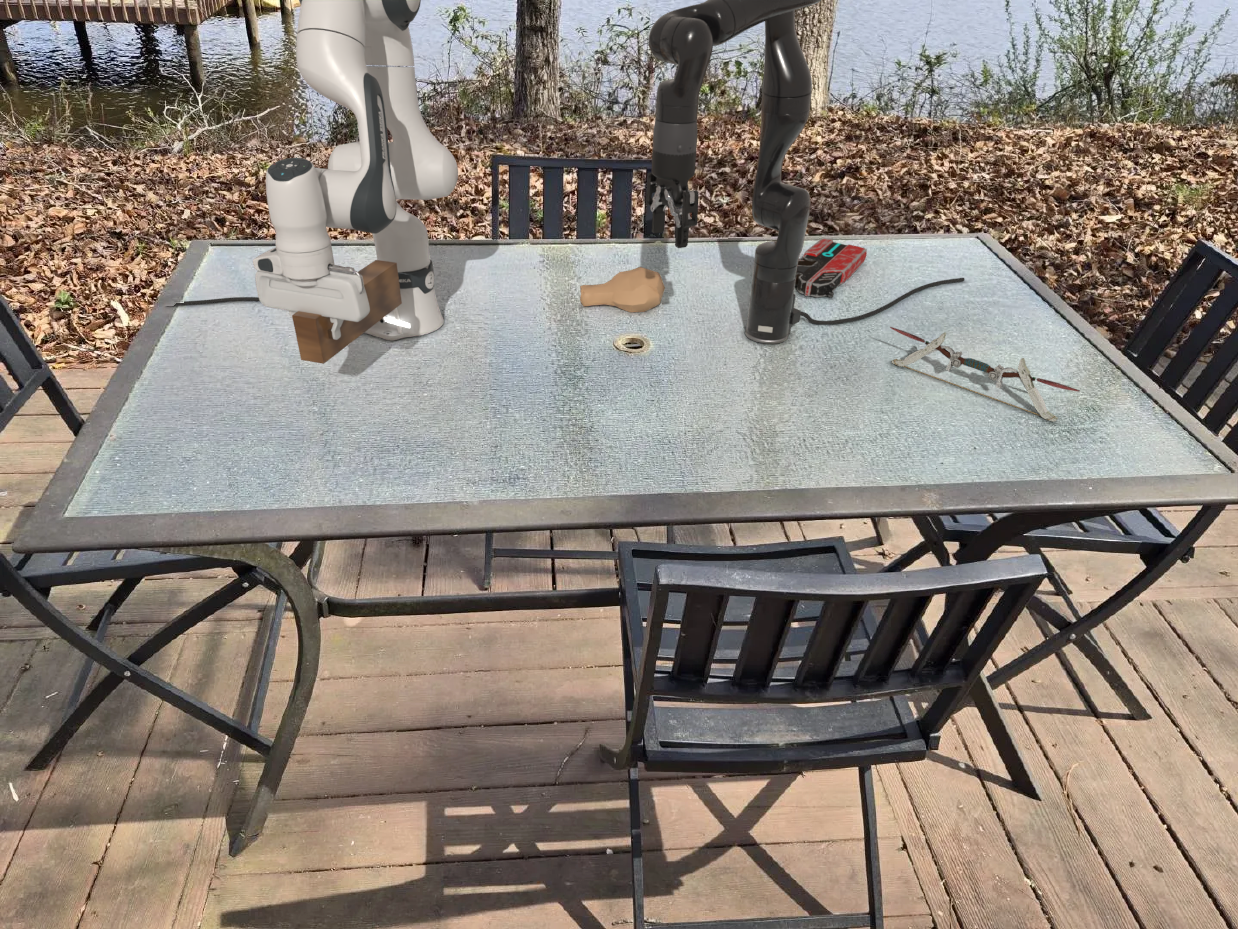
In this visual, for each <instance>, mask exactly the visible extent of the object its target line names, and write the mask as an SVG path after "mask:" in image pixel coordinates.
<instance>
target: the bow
mask: <svg viewBox="0 0 1238 929" xmlns="http://www.w3.org/2000/svg"><path fill="white" fill-rule="evenodd" d="M889 328H890V329H891V330H893V331H895V332H896V333H898V334H900V335H903V336H905V337H907V338H910V339H912V340H915V341H917V342H920V343H924V345H926V346H925V347H924V348H920V349H918V350H915V351H914V352H911V353H910V354H909V355H907V356H906V357H905V358H904V359H899V358H893V359H892V360H891V363H892V364H893V365H894V366H897V367H903V368H907V369H909V370H911V371H915V372H917V373H919V374H920V373H921V374H922V375H925V376H928V377H931V378H934V379H937V380H939V381H943V382H945V383H948V384H951V385H953V386H956V387H959V388H962V389H964V390H967V391H970V392H973V393H975V394H978V395H980V396H983V397H987V398H990V399H992V400H995V401H998V402H1001V403H1003V404H1006V405H1009V406H1012V407H1015V408H1017V409H1020V410H1022V411H1025V412H1028V413H1031V414H1034V415H1036V416H1039V417H1041V418H1043V419H1045V420H1047V421H1049V422H1057V420H1058V419H1059V417H1058V416H1056V415H1055V414H1054V413H1051V412H1050V411H1049V410H1048V409H1047V406H1046V403H1045V401H1044V399H1043V397H1042V394H1041V393H1040V391H1039V390H1038V388H1037V387H1036V386H1035V384H1034V382H1036V381H1037V382H1038V383H1042V384H1045V385H1047V386H1051V387H1053V388H1057V389H1062V390H1066V391H1072V392H1080V391H1081V390H1080V389H1077V388H1075V387H1072V386H1069V385H1066V384H1063V383H1060V382H1056V381H1052V380H1049V379H1045V378H1040V377H1035V376H1032V375H1031V371H1030V369H1029V368H1028V366H1027V364H1026V359H1025V357H1022V358H1020V360H1019V363H1018V365H1017V366H1018V367H1017V369H1015V368H1013V367H1004V366H1002V365H1001V364H998V365H996V367H992V366H991V365H990V364H988V363H986V362H984V361H981V360H977V359H974V358H971V357H966V358H965V357H962V356H963V351H955V350H954V349H953V347H950V346H948V345H943V343H944V342H945V339H946V336H947V332H943V333H941V334H940V335H939V336H938V337H937V338H935V339H933V340H931V341H930V342H929V341H928V340H925V339H924V338H922V337H920V336H917V335H914V334H912V333H911V332H909V331H908V332H907V331H904V330H902V329H899V328H896V327H893V326H889ZM937 351H938V352H939V353H941V354H942V355H943V356H944V357H945V358H947V359H948V360H949V361H948V364H947V365H946V367H945V370H946V371H947V372H950V371H951V370H952V369H953V367H954V368H955V369H959V368H960V367H961V366H962V365H963V366H966V367H969V368H972V369H975V370H978V371H980V372H983V373H987V374H988V378H989V379H990V380H991V381H996V382H995V388H997V389H1001V388H1002V387H1003V383H1004V381H1003V378H1005V379H1011V378H1018V379H1019V380H1020V382H1021V384H1022V385H1023V387H1024V389H1025V390H1026V392H1027V394H1028V397H1029V399H1030V400H1031V403H1032V404H1033V407H1034V408H1035V409H1036V410H1035V411H1036V412H1037V413H1036V412H1034V411H1031V410H1028V409H1025V408H1022V407H1020V406H1017V405H1014V404H1012V403H1009V402H1006V401H1003V400H1000V399H998V398H995V397H992V396H989V395H986V394H984V393H982V392H981V393H980V392H979V391H975V390H972V389H969V388H967V387H964V386H961V385H959V384H957V383H953V382H951V381H947V380H945V379H942V378H939V377H937V376H934V375H931V374H929V373H925V372H922V371H920V370H917V369H914V368H911V367H908V365H910V364H911V365H912V364H915V363H916V362H918V361H919V360H920V359H923V358H924V357H927V356H928V355H931V354H932V353H934V352H937Z"/></svg>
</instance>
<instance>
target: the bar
mask: <svg viewBox="0 0 1238 929" xmlns="http://www.w3.org/2000/svg"><path fill="white" fill-rule="evenodd" d="M357 272H358V273H359V274H360V275H362V277H363V282H364V287H365V291H366V294H367V298H368V302H369V307H370V312H369V314H368V315H367V316H366V317H365V318H363V319H362V320H361V321H359V322H354V321H348V320H344V321H343V323H342V325H341V327H340V332H341V337H340V338H339V339H337V340H335V339H330V338H329V337H328V331H327V330H328V329H330V328H331V327H332V326H333V324H334V323H331V321H330V317H324V316H322V315H319V314H313V313H307V312H301V311H298V312H296V313H295V314H293V315H292V318H293V319H292V318H291V319H292V322H293V327H294V332H295V337H296V342H297V346H298V352H299V356H300V360H301V361H305V362H311V363H316V364H322V365H324V364H326V363H327V362H328V361H329V360H331V359H332V358H333V357H335V356H336V355H337V354H339V353H340V352H341V351H342V350H343V349H345V348H346V347H348V346H349V345H350V344H351V343H353V342H354V341H355V340H357V339H358V338H359V337H361V336H362V335H363V334H365V333H364V332H366V331H367V330H368V329H370V328H371V327H372V326H373V325H375V324H376V323H377V322H379V321H380V320H381V319H382V318H384V317H385V316H386V315H388V314H389V313H390V312H391V311H393V310H394V309H395V308H397V307H398V306H399V305H401V304H402V300H401V292H400V285H399V277H398V269H397V263H395V262H388V261H381V260H377V259H375V260H373V261H372V262H370V263H369V264H367V265H365V266H364V267H363V268H361V269H360V270H358V271H357ZM354 274H356V273H354Z"/></svg>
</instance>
